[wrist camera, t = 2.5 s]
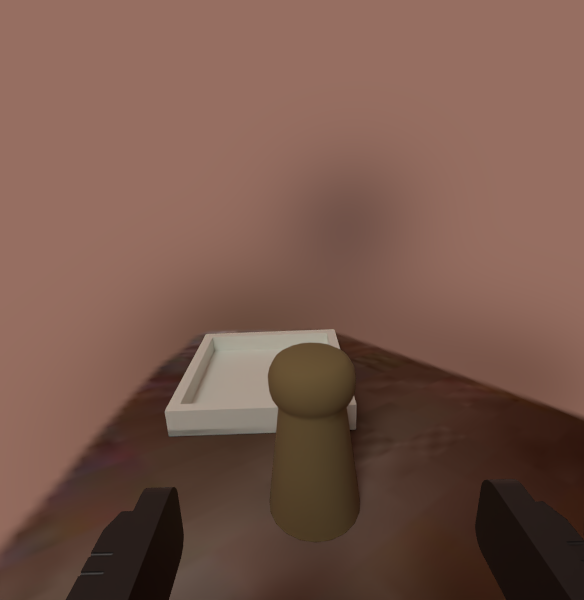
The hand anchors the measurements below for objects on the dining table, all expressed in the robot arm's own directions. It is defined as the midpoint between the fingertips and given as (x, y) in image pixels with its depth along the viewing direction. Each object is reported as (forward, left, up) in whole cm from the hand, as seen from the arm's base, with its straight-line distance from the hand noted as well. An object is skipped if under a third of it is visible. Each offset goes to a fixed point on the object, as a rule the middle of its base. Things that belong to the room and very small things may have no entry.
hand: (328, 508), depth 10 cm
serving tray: (+4, -27, -12) cm, 30 cm away
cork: (0, -12, -12) cm, 17 cm away
